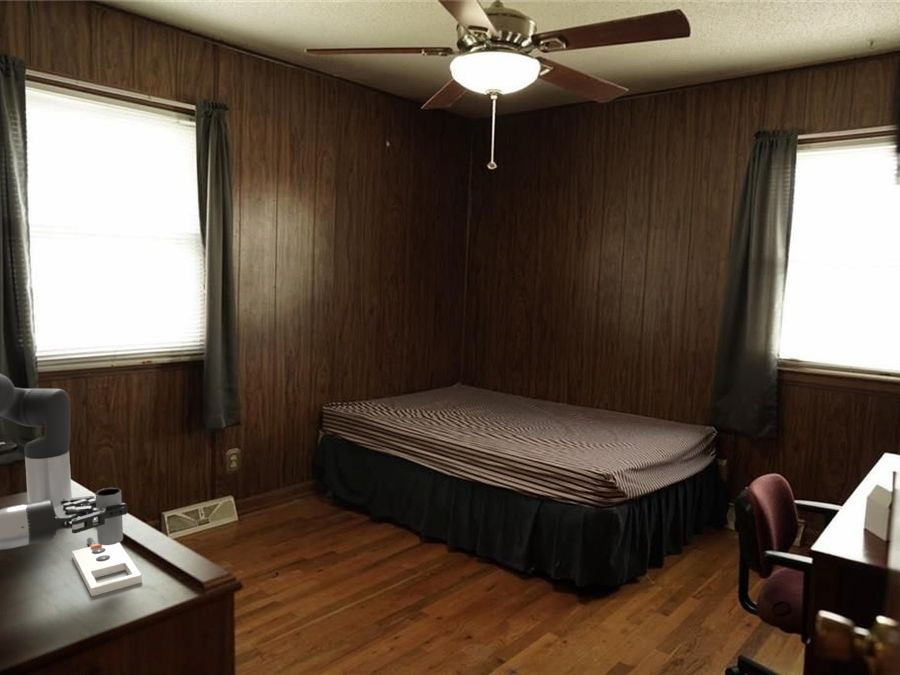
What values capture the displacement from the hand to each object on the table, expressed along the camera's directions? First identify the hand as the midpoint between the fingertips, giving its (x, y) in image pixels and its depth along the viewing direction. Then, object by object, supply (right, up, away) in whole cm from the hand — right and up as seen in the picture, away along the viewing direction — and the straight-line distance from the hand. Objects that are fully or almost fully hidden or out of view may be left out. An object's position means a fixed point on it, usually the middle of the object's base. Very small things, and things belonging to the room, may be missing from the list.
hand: (123, 504), depth 131 cm
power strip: (-8, -14, +7) cm, 18 cm away
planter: (-2, -7, -1) cm, 8 cm away
